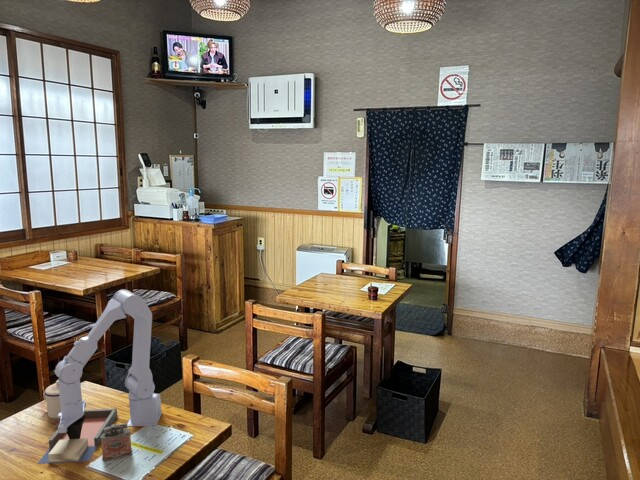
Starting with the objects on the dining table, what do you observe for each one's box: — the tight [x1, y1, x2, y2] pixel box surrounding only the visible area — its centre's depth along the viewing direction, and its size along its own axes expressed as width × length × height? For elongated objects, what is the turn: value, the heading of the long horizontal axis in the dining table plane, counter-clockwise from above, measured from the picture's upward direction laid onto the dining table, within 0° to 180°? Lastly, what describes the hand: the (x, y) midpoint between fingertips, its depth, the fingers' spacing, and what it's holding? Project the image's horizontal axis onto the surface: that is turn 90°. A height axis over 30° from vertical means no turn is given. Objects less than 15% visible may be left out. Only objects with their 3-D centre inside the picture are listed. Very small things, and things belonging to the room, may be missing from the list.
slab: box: [48, 438, 88, 462], centre depth 138 cm, size 8×7×2 cm
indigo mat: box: [37, 446, 99, 465], centre depth 138 cm, size 14×7×1 cm, turn 95°
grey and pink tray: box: [48, 408, 118, 449], centre depth 150 cm, size 14×17×3 cm
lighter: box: [100, 422, 133, 462], centre depth 137 cm, size 8×3×10 cm, turn 114°
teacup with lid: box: [42, 379, 61, 419], centre depth 161 cm, size 12×9×12 cm
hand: (75, 441), depth 143 cm, fingers closed
